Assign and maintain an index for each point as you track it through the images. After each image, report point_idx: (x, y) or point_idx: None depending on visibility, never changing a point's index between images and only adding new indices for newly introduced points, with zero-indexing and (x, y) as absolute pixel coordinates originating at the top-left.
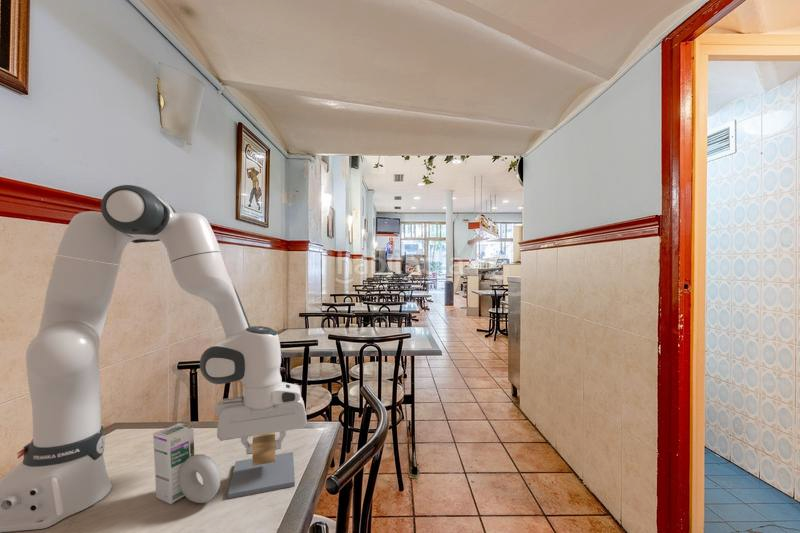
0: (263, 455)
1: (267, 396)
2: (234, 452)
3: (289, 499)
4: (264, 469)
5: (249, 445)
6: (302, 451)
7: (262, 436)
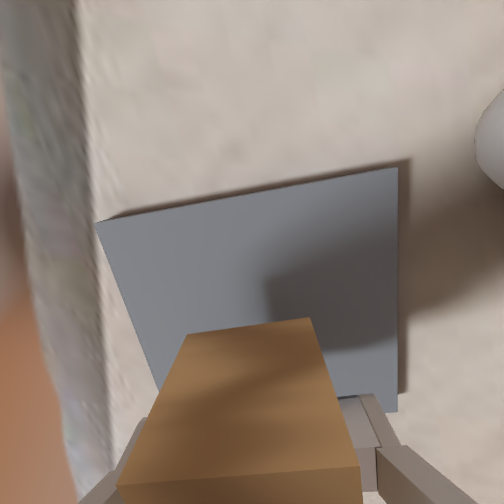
0: (245, 362)
1: None
2: None
3: (96, 117)
4: None
5: (377, 473)
6: None
7: None
